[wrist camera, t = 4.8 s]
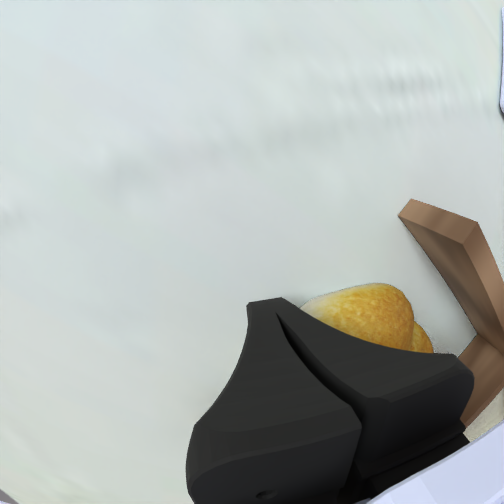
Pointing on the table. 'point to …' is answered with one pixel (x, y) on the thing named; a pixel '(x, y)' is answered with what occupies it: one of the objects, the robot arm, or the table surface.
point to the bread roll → (372, 316)
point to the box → (467, 292)
